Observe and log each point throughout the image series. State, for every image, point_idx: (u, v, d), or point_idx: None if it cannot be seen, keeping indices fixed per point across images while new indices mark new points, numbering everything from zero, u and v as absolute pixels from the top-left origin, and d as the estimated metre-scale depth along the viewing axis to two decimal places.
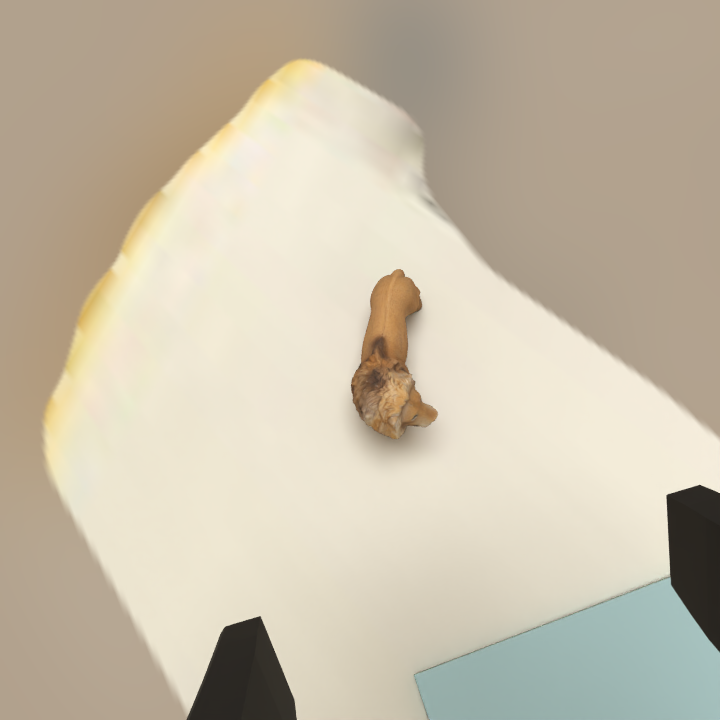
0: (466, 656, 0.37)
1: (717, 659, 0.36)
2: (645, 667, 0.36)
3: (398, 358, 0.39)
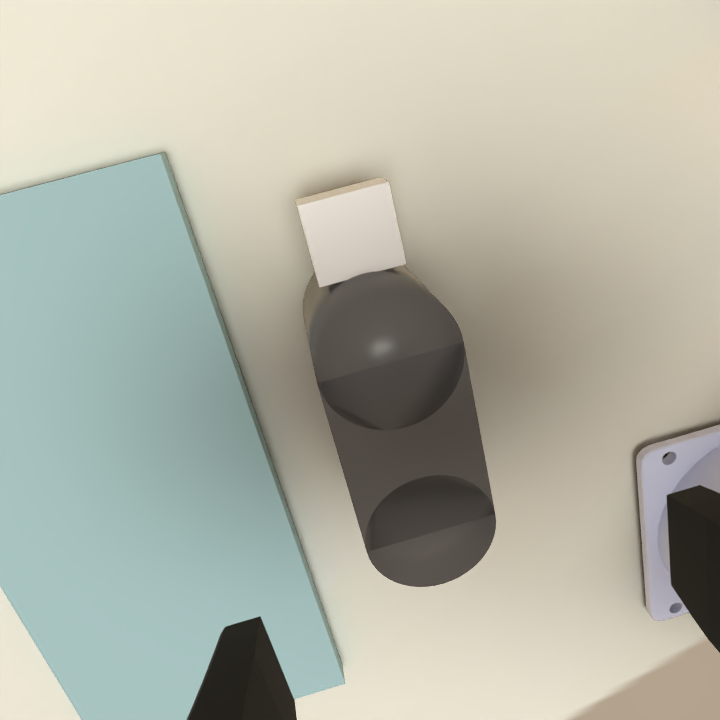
0: (67, 692, 0.21)
1: (30, 276, 0.16)
2: (60, 420, 0.17)
3: None
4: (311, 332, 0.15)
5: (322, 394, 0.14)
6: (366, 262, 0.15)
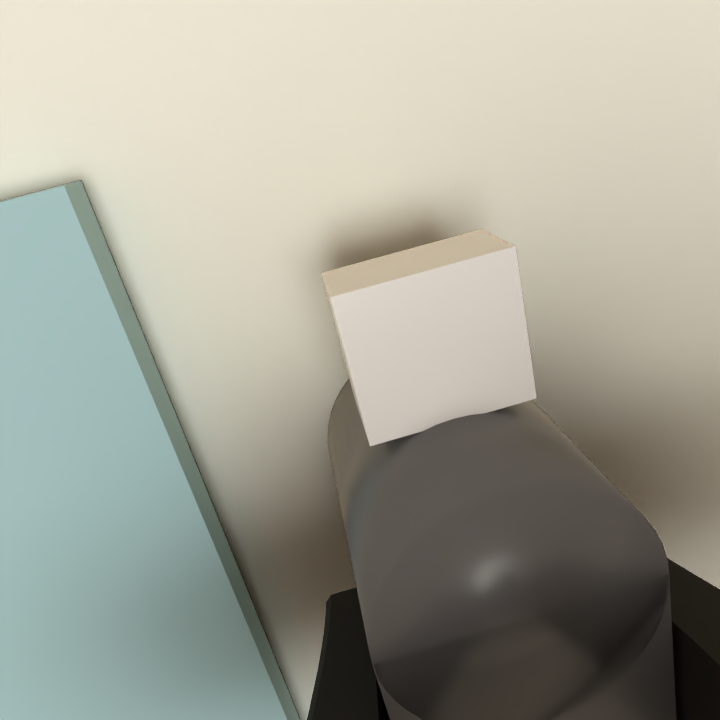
0: None
1: None
2: None
3: None
4: (353, 531, 0.08)
5: (382, 684, 0.07)
6: (460, 397, 0.08)
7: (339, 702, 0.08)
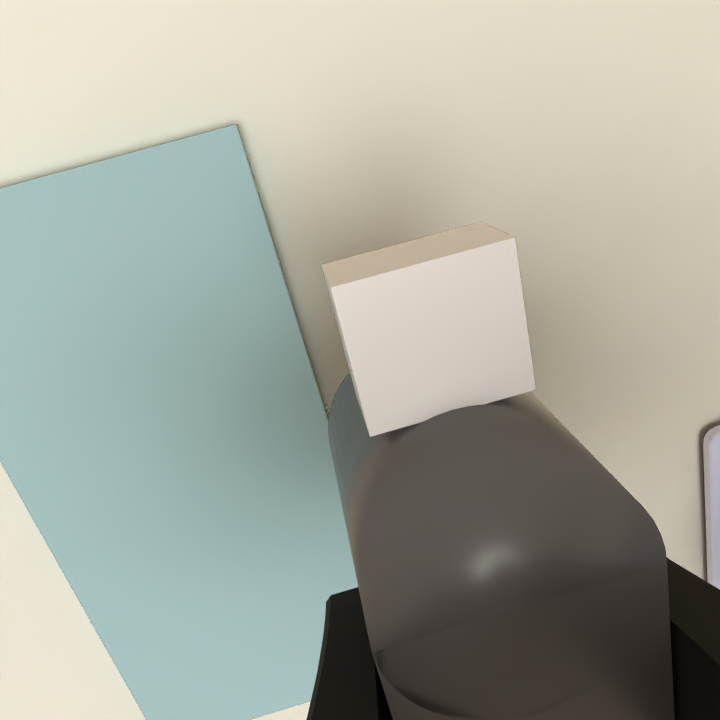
0: (126, 680, 0.20)
1: (101, 252, 0.15)
2: (128, 401, 0.17)
3: None
4: (353, 521, 0.08)
5: (381, 672, 0.07)
6: (460, 388, 0.08)
7: (339, 702, 0.08)
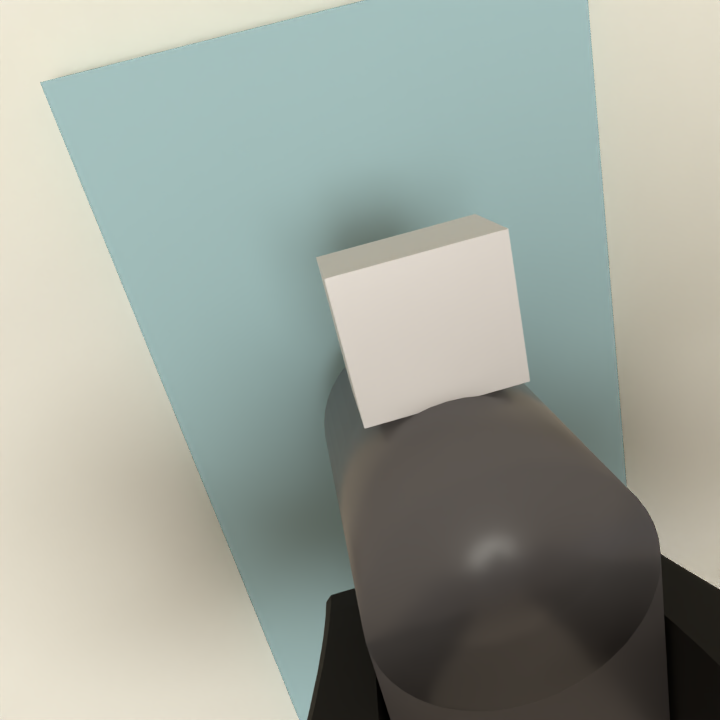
0: None
1: (366, 139, 0.11)
2: None
3: None
4: (348, 513, 0.08)
5: (375, 662, 0.07)
6: (455, 380, 0.08)
7: (339, 702, 0.08)
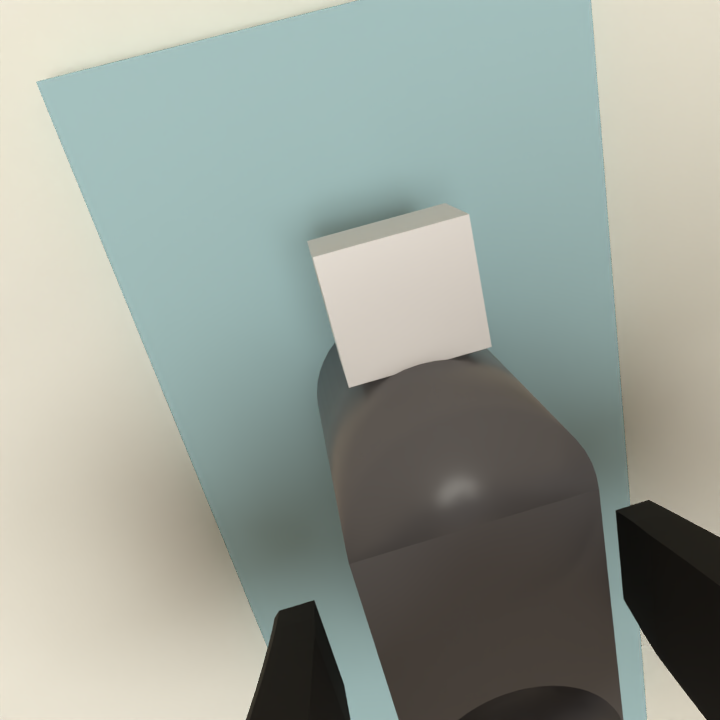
0: None
1: (366, 139, 0.10)
2: None
3: None
4: (335, 460, 0.09)
5: (357, 581, 0.08)
6: (425, 345, 0.09)
7: None
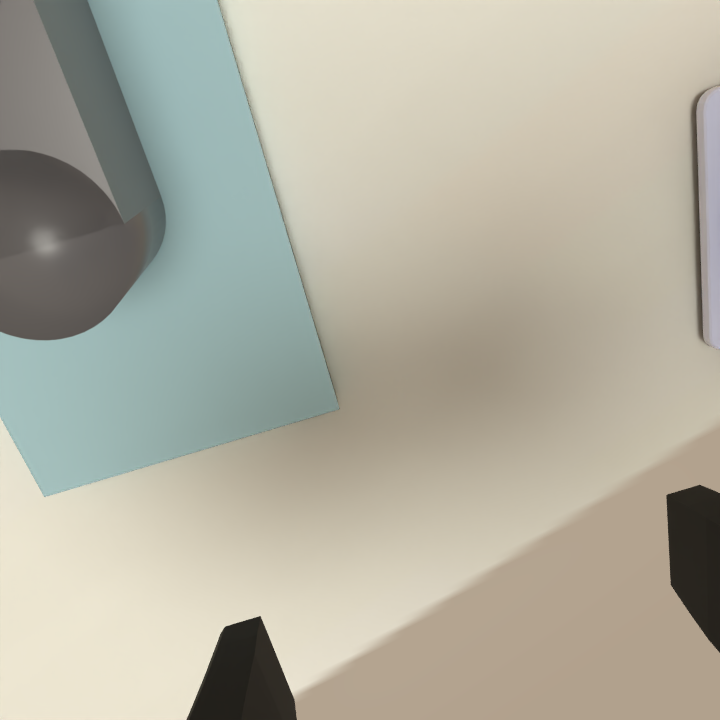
0: None
1: None
2: None
3: None
4: None
5: None
6: None
7: None
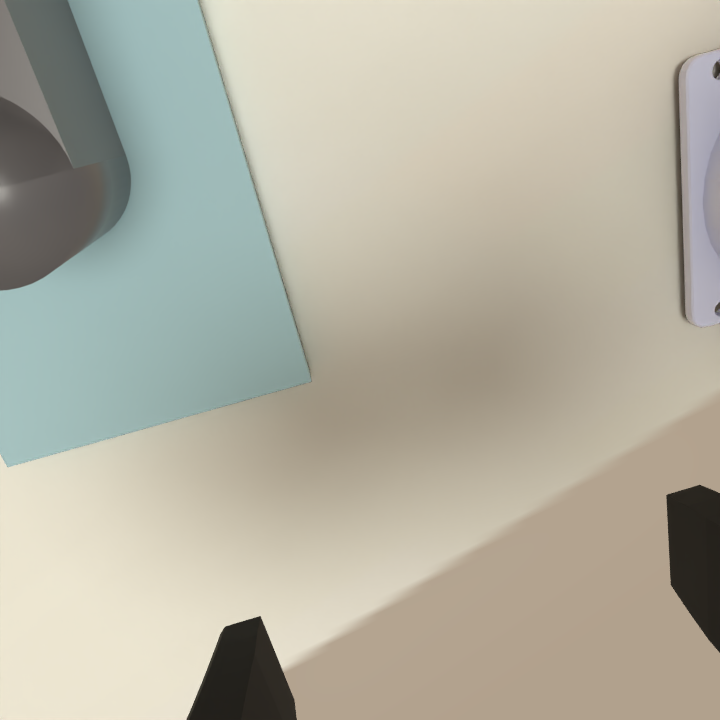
0: None
1: None
2: None
3: None
4: None
5: None
6: None
7: None
